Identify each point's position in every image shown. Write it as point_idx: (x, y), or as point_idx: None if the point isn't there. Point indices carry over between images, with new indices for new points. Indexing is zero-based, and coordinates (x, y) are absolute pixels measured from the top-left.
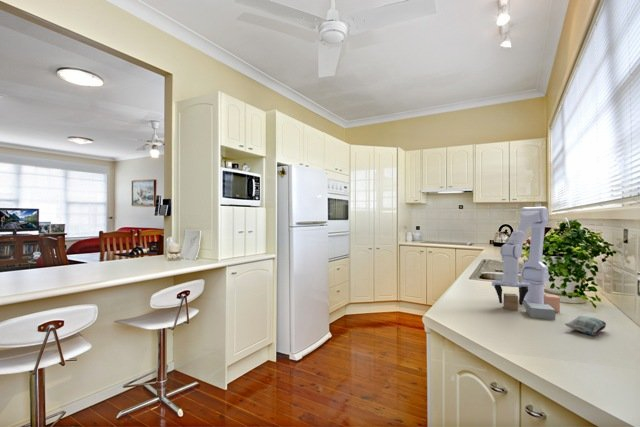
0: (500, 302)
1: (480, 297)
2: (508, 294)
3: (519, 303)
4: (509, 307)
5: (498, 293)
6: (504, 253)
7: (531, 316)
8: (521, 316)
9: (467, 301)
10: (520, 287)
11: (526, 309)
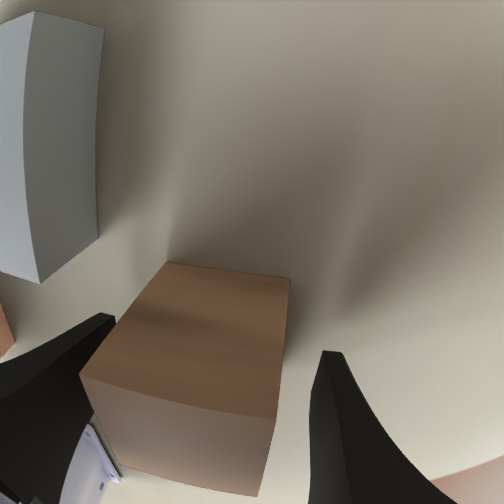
0: (342, 356)
1: None
2: (208, 459)
3: None
4: (246, 288)
5: (401, 454)
6: None
7: (98, 29)
8: (197, 9)
9: (493, 421)
10: (18, 499)
11: (84, 237)
